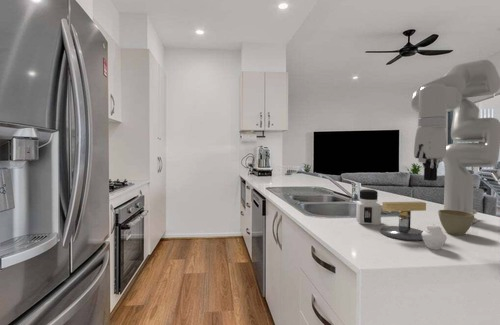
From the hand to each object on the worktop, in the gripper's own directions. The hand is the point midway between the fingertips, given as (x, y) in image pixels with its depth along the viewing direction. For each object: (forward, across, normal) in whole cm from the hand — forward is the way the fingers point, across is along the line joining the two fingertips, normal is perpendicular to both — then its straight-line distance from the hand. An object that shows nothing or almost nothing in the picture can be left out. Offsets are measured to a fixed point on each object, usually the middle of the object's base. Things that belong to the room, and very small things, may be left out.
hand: (430, 180), depth 91 cm
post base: (+19, +6, -5) cm, 20 cm away
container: (+19, +4, -22) cm, 29 cm away
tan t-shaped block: (+13, +6, -5) cm, 15 cm away
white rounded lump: (+19, +10, +8) cm, 23 cm away
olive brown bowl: (+19, -12, +1) cm, 23 cm away
